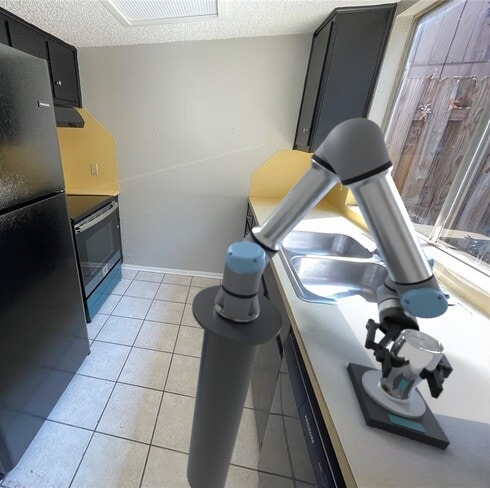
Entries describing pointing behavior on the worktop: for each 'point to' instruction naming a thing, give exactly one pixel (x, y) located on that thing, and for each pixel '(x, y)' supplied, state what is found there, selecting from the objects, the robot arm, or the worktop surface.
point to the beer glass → (410, 364)
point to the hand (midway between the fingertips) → (411, 382)
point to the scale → (395, 410)
